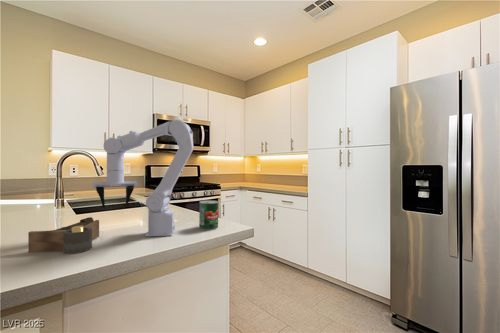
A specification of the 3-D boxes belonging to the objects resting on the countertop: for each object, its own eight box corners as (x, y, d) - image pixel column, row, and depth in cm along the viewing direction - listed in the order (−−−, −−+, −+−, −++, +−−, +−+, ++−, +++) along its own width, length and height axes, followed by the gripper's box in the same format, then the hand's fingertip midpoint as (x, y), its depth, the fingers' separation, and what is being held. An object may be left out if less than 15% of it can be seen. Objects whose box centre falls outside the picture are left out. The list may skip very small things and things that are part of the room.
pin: (85, 247, 76) (85, 225, 76) (81, 250, 73) (80, 227, 73) (75, 248, 76) (74, 226, 75) (70, 251, 73) (69, 228, 72)
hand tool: (56, 242, 81) (56, 228, 81) (46, 241, 82) (46, 227, 82) (99, 227, 100) (99, 216, 100) (91, 227, 101) (91, 216, 101)
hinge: (108, 236, 88) (108, 219, 88) (84, 253, 71) (84, 233, 71) (57, 237, 85) (57, 221, 85) (20, 256, 69) (20, 235, 69)
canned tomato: (205, 224, 106) (205, 199, 106) (221, 226, 103) (221, 200, 103) (195, 229, 99) (195, 202, 98) (212, 231, 96) (212, 203, 96)
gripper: (135, 170, 98) (135, 203, 98) (92, 170, 90) (92, 206, 90) (137, 170, 92) (137, 205, 92) (92, 170, 84) (92, 209, 84)
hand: (115, 206), depth 91 cm, fingers open, 7 cm apart
